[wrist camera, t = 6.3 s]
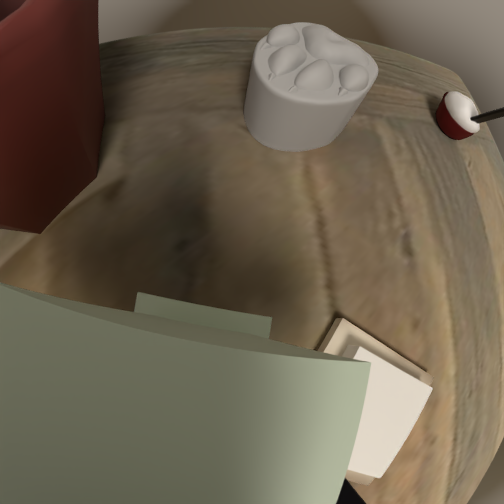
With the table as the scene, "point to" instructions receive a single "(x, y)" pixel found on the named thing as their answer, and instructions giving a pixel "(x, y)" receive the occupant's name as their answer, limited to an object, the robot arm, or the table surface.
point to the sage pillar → (167, 406)
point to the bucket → (47, 108)
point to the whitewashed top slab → (384, 413)
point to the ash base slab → (349, 334)
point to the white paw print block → (305, 86)
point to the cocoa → (461, 116)
